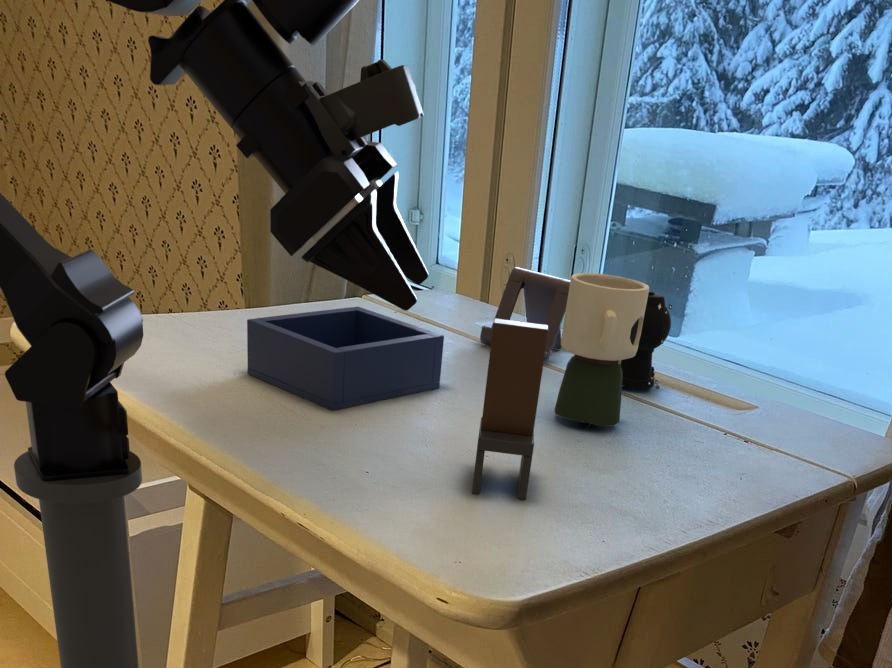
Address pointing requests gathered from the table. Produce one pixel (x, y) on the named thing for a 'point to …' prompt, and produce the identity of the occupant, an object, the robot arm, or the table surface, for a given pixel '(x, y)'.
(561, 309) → the tablet stand
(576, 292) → the character mug
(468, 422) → the table surface
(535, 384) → the tall backed stool
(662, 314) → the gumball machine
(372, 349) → the box
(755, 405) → the table surface
